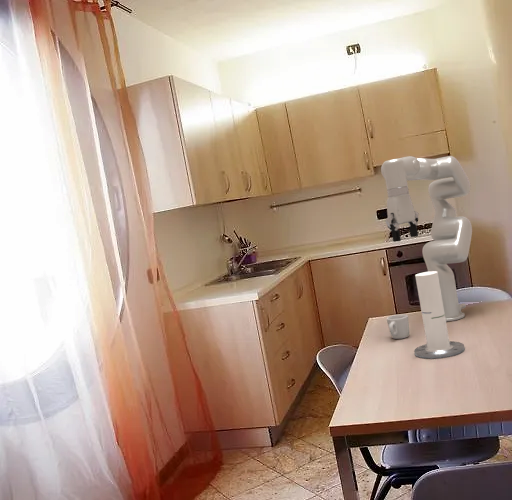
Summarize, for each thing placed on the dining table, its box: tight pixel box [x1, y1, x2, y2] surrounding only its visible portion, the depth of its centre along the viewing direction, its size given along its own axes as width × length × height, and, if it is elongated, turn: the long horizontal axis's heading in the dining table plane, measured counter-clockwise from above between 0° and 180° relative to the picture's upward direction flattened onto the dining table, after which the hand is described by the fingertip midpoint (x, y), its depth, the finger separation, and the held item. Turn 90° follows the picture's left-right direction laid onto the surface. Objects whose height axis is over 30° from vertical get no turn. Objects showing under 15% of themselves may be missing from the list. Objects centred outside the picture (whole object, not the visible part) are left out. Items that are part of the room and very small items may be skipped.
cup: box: [386, 313, 410, 340], centre depth 231 cm, size 11×8×8 cm
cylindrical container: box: [414, 271, 450, 351], centre depth 204 cm, size 7×7×25 cm
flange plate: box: [413, 340, 466, 360], centre depth 205 cm, size 16×16×1 cm
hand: (405, 238), depth 228 cm, fingers open, 9 cm apart
